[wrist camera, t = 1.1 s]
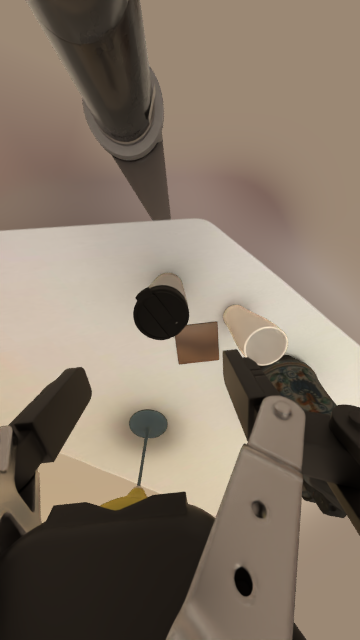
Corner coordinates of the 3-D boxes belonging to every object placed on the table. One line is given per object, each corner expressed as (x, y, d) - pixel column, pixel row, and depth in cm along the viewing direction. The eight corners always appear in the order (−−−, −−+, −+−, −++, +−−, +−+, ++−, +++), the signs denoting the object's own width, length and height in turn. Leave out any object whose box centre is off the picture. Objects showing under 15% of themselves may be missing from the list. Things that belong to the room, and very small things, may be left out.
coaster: (173, 326, 41) (173, 327, 40) (216, 321, 41) (217, 322, 40) (178, 363, 44) (178, 364, 44) (218, 358, 44) (219, 360, 44)
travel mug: (170, 264, 36) (165, 273, 18) (188, 291, 38) (201, 324, 19) (146, 282, 37) (117, 309, 19) (165, 307, 39) (155, 353, 21)
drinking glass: (214, 323, 41) (235, 358, 27) (227, 296, 39) (257, 319, 25) (240, 333, 42) (273, 371, 28) (254, 307, 40) (298, 335, 26)
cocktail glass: (192, 420, 51) (208, 561, 27) (154, 454, 55) (139, 600, 32) (141, 388, 47) (107, 522, 23) (104, 427, 51) (43, 574, 27)
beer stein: (306, 346, 44) (459, 451, 20) (308, 404, 50) (426, 536, 27) (239, 362, 45) (312, 480, 21) (250, 417, 51) (314, 555, 28)
